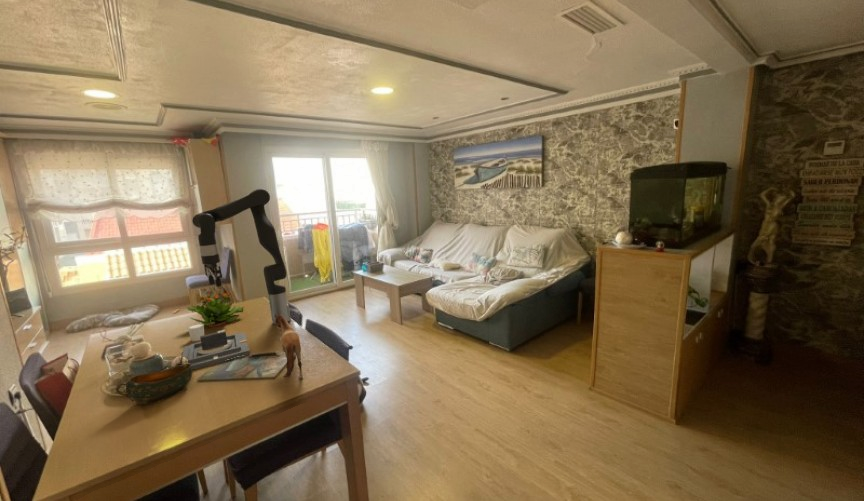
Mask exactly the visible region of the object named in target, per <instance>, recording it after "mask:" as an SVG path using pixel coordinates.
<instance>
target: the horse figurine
mask: <svg viewBox="0 0 864 501" xmlns="http://www.w3.org/2000/svg"><path fill="white" fill-rule="evenodd" d="M274 316H275V317H276V320H275V321H276V323H277V324H276V325H277V329H278V330H279V331H280V336H279V338H280V340H279V341H280V344H281V347H282V351H283V352H284V355H285V358H286V366H285V368H286V373H285V375H284V376H283V377H282V378H284V379H286V378H289V377H290V376H292V372H293V371H294V367H295V365H294V363H295V358H296V359H297V365H298V367H299V368H298V369H299V373H298V374H299V375H298V379H303V378H304V377H303V376H304V375H303V371H302V365H303V364H302V361H301V359H302V354H301V353H302V352H301V351H302V347H301V341H300V336H299V334H298V333H297V332H296V331H295V330H294V328H293V327H292V326H291V325H290V323H289V321H288V322H287V320H286V319H285V317H284V316H282V315H280V314H278V316H276V315H274Z"/></svg>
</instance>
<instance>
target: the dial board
mask: <svg viewBox="0 0 864 501" xmlns="http://www.w3.org/2000/svg"><path fill="white" fill-rule="evenodd" d="M226 337H227V340H231V341H232V346H231V347H230V348H228V349H226V350H222V351H218V352H215V353H211V354H207V355H199V354H198V352H197V350H198V348H200V347H201V346H202V344H201V341H197V342H195V343H190V345H186V346H183V348H182V349H183V350H182V355H181V357H182V356H183V357H185V358H187V359H188V363H190V364H191V367H192V369H195V370H198V369H202V368H205V367H208V366H212V365H213V366H214V365H216V364H221V363H223V362H222V361H224V362H226V361H225V360H227V359H231V358H234V357H237V356H242V355H246V356H250V355H249V354H250V349H249V345H248V340H247V336H246V332H245V331H243V332H241V333H238V332H237V333H236V332H235V333H233V334H228V335H227V334H226ZM242 357H243V356H242ZM231 360H232V359H231Z"/></svg>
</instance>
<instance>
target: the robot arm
mask: <svg viewBox="0 0 864 501" xmlns="http://www.w3.org/2000/svg"><path fill="white" fill-rule="evenodd" d="M270 199H271V195H270V193H269V192H268V191H267V190H266V189H264V188H258V189H255V190H252V191H251V192H250V193H249V194H247V195H245V196H244V197H241V198H239V199H236V200H233V201H231V202H227V203H225V204H223V205H220V206H217V207H215V208H212V209H209V210H206V211H202V212H199V213H196V214H195V215H194V216H192V219H191V220H192V224H193V226H194V227H196V228H199V229H200V233H199V234H198V236H197V238H198V243H199V244H198V245H199V254H200V258H201V263H202V265H203V268H204V273H205V276H206V277H207V279H208V284H209V285H211V286H212V285H215V286H216V287H217V288H219V287H220V288H221V287H222V280H221V279H222V278H223V274H222V269H221V268H222V267H221V265H217V264H219V263H220V262H221V259H220V254H219V248H218V245H217V240H216V234H215V233H216V223H218V222H222V221H226V220H228V219H230V218H232V217H235V216H236V215H239V214H240V213H242V212H244V211H246V210H248V209H249V210H250V211H251V215H252V217H253V221H254V226H255V229H256V234H257V239H258V242H259V244H260V246H262V247H263V249H265V250H266V252H268V254H270V256H271V257H272V258H273V260H274V262H275V263H274V264H268V265H266V266H264V268H263V276H264V282H265V285H266V286H265V287H266V290H267V295H268V296H267V297H268V301H269V308H270V309H269V310H270V315H271V321H272V324H273V325H278V324H277V323H276V321H275V320H276V317H275V316H274V315H276V316H278V314H280V315H282V316H284V317H285V319H286V320H287V322H288V323H289V322H291V321H292V319H291V314H290V312H291V311H290V305H289V303H288V302H289V301H288V296H287V290H286V286H285V285H283V284H282V285H280V284H275V282H277V281H280V280H284V279H286V278H287V275H288V274H287V268H286V265H285V262H284V259H283V256H282V253H281V250H280V245H279V241H278V237H277V236H278V235H277V231H276V229H275V227H274V225H273V224H272V222H271V221H270V219H269V217H268V216H267V213H266V209H265V205H267V204H269V201H270Z"/></svg>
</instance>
